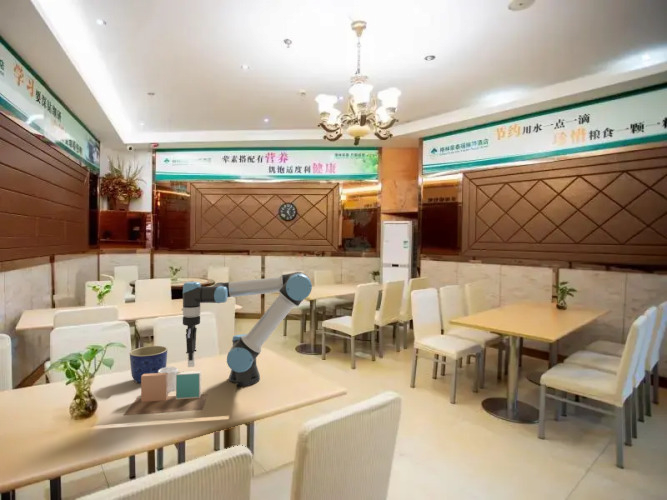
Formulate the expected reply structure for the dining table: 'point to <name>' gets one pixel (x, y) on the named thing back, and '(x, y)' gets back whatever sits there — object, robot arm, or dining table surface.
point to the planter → (147, 361)
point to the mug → (170, 377)
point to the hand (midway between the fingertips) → (191, 366)
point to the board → (166, 405)
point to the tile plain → (154, 387)
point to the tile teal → (188, 385)
